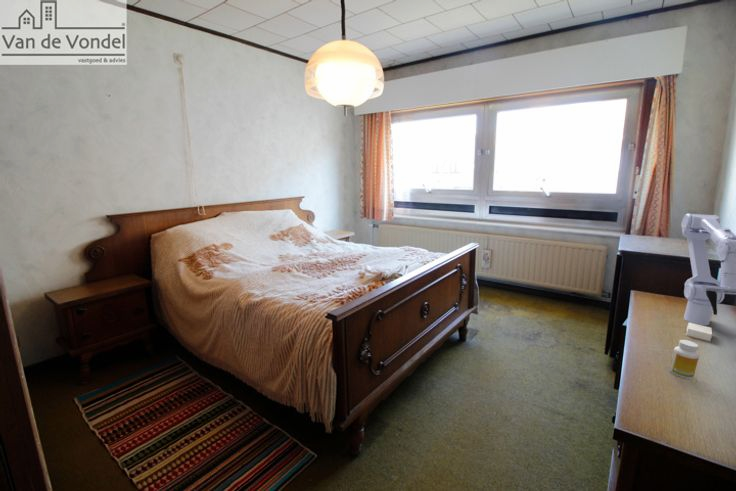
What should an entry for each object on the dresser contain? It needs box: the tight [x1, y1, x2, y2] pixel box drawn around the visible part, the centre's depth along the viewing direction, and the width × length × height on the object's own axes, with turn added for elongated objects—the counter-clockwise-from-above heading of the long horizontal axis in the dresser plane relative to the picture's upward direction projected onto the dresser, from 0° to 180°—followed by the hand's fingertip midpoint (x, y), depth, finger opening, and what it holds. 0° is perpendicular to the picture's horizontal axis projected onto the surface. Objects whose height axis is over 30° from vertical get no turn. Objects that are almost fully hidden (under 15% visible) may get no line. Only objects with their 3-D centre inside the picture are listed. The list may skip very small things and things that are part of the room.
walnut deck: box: [684, 327, 713, 343], centre depth 122 cm, size 8×7×1 cm
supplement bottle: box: [668, 339, 700, 380], centre depth 100 cm, size 5×5×10 cm
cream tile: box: [686, 321, 713, 342], centre depth 122 cm, size 7×6×2 cm
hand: (731, 316), depth 114 cm, fingers open, 7 cm apart
